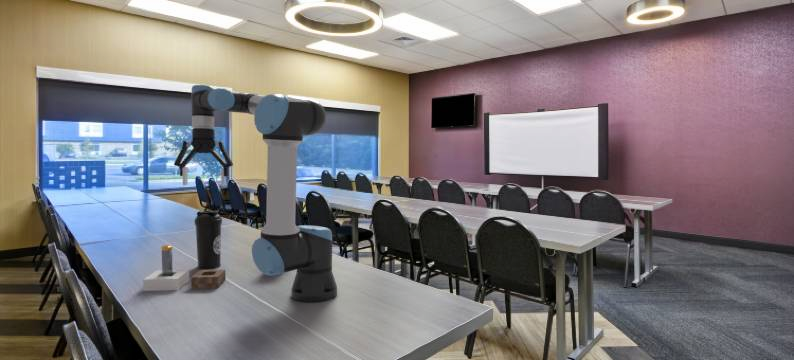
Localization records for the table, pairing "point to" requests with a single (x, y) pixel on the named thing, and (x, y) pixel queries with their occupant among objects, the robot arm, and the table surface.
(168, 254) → the pin
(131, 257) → the table surface
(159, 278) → the dock block
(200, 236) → the water bottle
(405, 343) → the table surface
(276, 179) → the robot arm
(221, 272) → the mount block
